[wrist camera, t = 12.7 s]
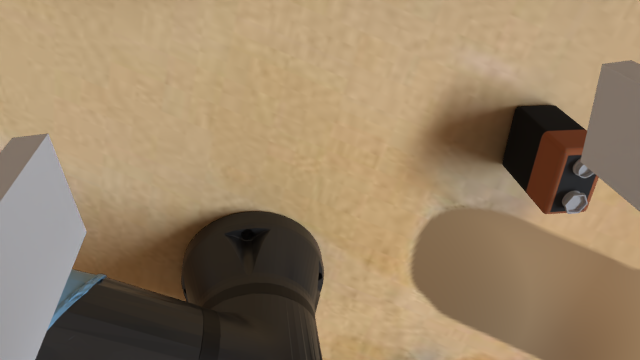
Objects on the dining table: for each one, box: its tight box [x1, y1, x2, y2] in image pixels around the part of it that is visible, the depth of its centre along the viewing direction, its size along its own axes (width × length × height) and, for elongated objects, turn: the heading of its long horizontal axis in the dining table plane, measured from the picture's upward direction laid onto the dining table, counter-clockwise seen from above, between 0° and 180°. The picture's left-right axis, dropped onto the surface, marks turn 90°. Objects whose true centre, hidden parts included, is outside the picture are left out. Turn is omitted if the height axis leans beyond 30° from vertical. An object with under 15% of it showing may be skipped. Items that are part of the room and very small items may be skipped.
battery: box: [503, 105, 599, 214], centre depth 48 cm, size 4×7×10 cm, turn 179°
